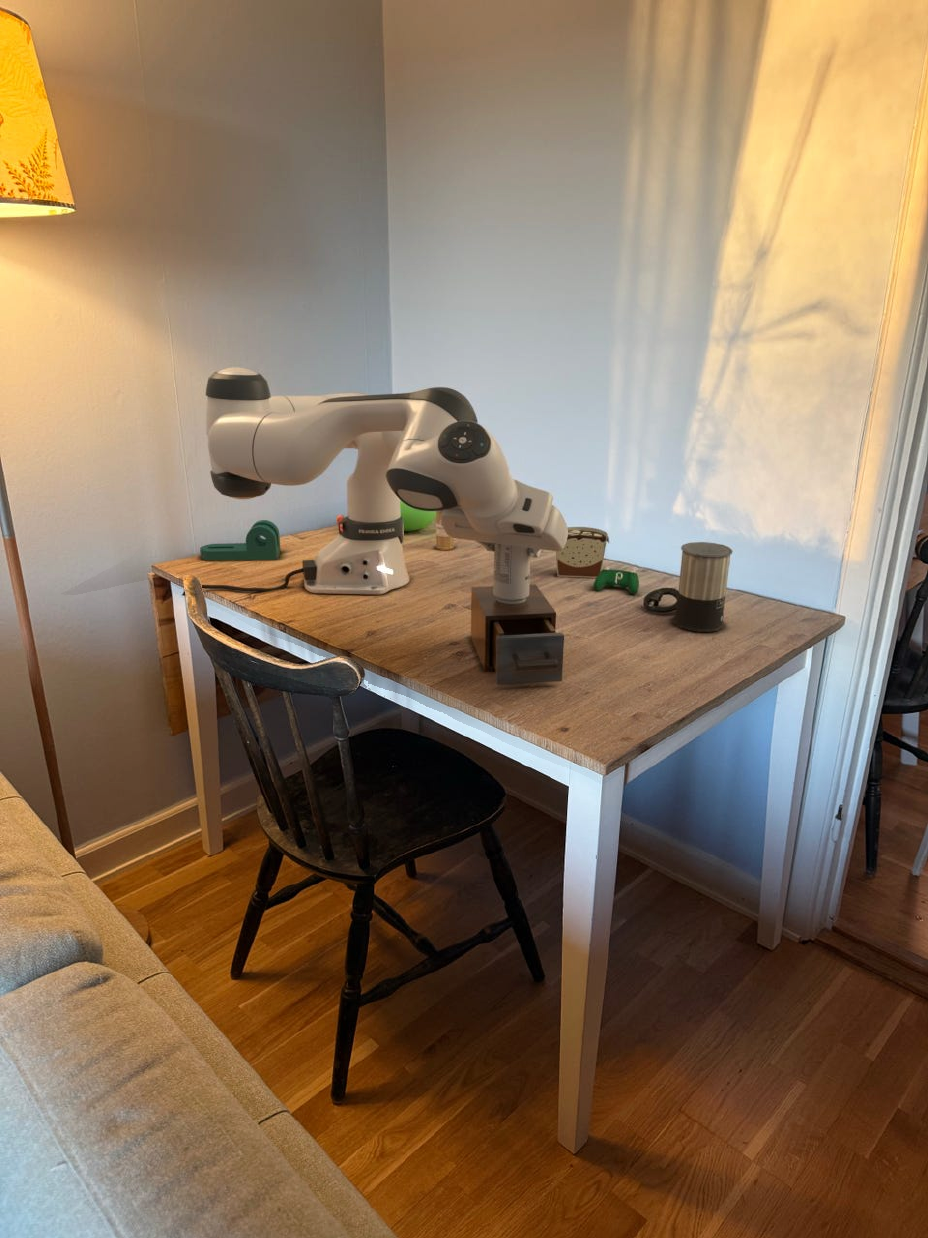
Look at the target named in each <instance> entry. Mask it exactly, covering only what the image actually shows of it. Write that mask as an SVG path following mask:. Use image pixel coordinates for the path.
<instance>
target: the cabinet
mask: <svg viewBox="0 0 928 1238" xmlns="http://www.w3.org/2000/svg"><path fill="white" fill-rule="evenodd" d="M493 588H494V585H487V586H471V589H470V590H471V595H470V599H471V600H470V606H471V607H470V638H471V641H472V644H473V647H474V648H475V651H476V653H477V656H478V658H479V660H480V663H481V665H482V667H483V670H484V672H486V671H489V672H490V671H496V670H495V668H494V665H493V663H492V661H491V659H490V620H509V619H530V618H547V619H548V620H549V622H550V623H551V625H552V626H553V628H554V629H555V630H556V627H557V625H556V624H557V612H556V611H555V609H554V608H553V606H552V605H551V603H550V602H549V601H548V599H547V598H546V596H545V595H544V593H543V592H542V591H541V589H540V588H539V587H538V585H537V584H530V586H529V596H528V597H526V600H525V601H524V602H522V603H519V604H505V603H501V602H499V601H497V599H496V596H495V595H494V594H493Z"/></svg>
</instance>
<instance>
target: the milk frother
mask: <svg viewBox="0 0 928 1238" xmlns="http://www.w3.org/2000/svg"><path fill="white" fill-rule="evenodd" d="M680 550H681V551H682V552H681V560H680V561H681V562H680V572H679V582H678V589H676V588H673V587H661V588H656V589H654V590H652V591H650V592H648V593H647V594H646V595H645V596H644V598H643V606H644V608H645V609H647V610H648V611H650V612H654V613H659V614H668V613H672V612H675V615H674V617H673V618H672V619H673V620H672V621H673V623H674V624H675V625H676V626H677V627H679V628H680V629H685V630H687V631H690V632H691V631H693V632H699V633H700V632H701V633H711V632H717V631H720V630H721V629H723V627H724V626H725V623H724V617H725V614H724V613H725V605H726V604H725V603H726V594H727V585H728V578H729V570H730V569H729V568H730V563H731V555H732V554H733V549H732V548H731V547H729V546H727V545H724V544H721V543H715V542H709V541H707V542H706V541H696V542H695V541H693V542H688V543H684V544H682V545H681V546H680ZM667 595H668V596H672V597H673V598H675V600H676V602H674V603H673V604H671V605H669V606H659V605H660V602H661V601H662V598H663V596H667Z"/></svg>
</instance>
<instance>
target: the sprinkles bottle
mask: <svg viewBox="0 0 928 1238" xmlns="http://www.w3.org/2000/svg"><path fill="white" fill-rule="evenodd" d="M454 539H455V538H452V537H451V536H449V535H447V534H446V532H445V530H444V528H443V525H442V522H441V514H440V513H439V512H438V511H436V518H435V540H436V541H435V548H436V549H437V550H441V551H448V550H452V549H454V547H455V545H454V544H455V542H454Z"/></svg>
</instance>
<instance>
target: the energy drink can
mask: <svg viewBox="0 0 928 1238" xmlns="http://www.w3.org/2000/svg"><path fill="white" fill-rule="evenodd" d="M528 550H529V548H527V547H519V546H511V545H504V544H496V543H494V552H493V586H494V588H493V594H494V595H495V596H496V599H497V601H499V602H501V603H505V604H519V603H522V602H524V601H525V600H526V597H528V596H529V586H530V585H531V561H532V560H531V558H532V557H530V556H529V554H528Z"/></svg>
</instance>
